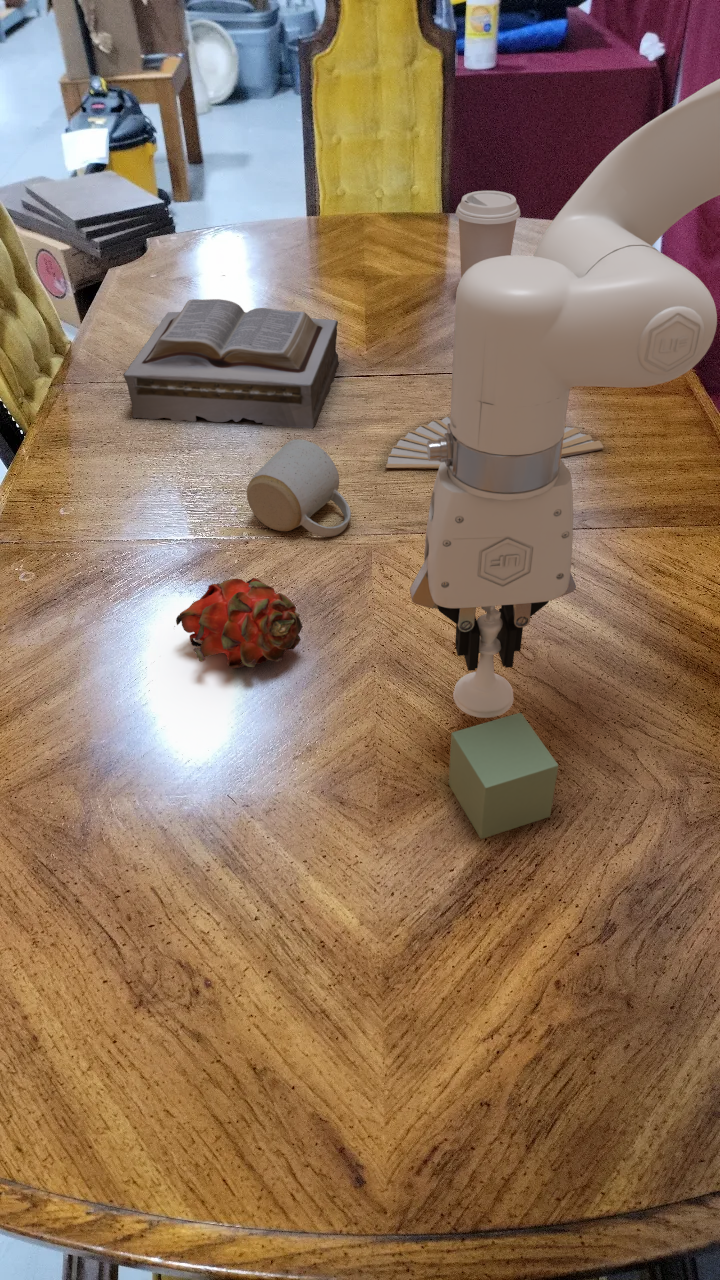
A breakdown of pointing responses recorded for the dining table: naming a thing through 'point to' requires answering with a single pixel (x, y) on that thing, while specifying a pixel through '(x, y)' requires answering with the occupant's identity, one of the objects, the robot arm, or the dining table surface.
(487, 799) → the block
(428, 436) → the hand fan
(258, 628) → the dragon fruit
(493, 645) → the chess piece
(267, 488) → the ceramic mug
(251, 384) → the bible
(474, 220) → the coffee cup
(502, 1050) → the dining table surface
